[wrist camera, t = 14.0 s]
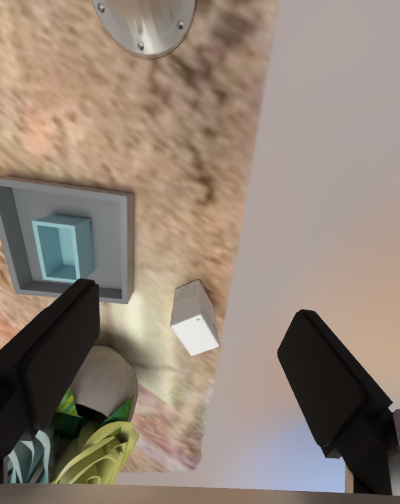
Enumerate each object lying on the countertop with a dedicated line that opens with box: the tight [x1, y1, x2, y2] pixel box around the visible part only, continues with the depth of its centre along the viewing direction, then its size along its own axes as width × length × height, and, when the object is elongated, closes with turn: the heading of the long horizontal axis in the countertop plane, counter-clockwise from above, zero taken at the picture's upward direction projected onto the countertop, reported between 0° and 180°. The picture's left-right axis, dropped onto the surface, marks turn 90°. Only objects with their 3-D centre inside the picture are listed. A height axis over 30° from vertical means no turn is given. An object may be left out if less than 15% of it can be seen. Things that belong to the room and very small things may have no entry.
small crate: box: [32, 214, 95, 283], centre depth 32 cm, size 10×6×5 cm, turn 172°
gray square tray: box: [0, 176, 134, 304], centre depth 34 cm, size 20×20×4 cm
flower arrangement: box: [8, 345, 139, 485], centre depth 36 cm, size 25×25×24 cm
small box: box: [170, 280, 220, 356], centre depth 36 cm, size 8×6×10 cm
